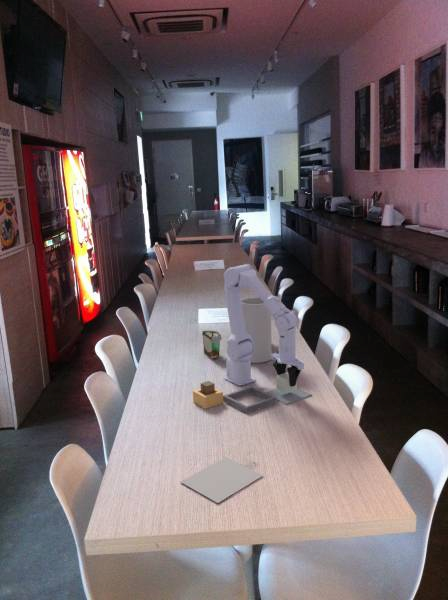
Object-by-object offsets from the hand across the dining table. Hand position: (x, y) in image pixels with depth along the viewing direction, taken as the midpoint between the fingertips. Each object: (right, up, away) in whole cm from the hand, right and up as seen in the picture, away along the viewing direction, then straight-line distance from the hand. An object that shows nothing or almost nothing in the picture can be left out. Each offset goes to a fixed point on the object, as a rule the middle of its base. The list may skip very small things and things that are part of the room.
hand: (287, 383), depth 197 cm
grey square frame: (-13, -6, -4) cm, 15 cm away
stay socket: (-28, -6, -3) cm, 28 cm away
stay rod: (-28, -6, -3) cm, 29 cm away
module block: (0, -2, 0) cm, 2 cm away
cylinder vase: (-9, +4, +39) cm, 40 cm away
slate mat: (0, -4, +1) cm, 4 cm away
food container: (-26, +5, +44) cm, 51 cm away
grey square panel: (-23, -17, -45) cm, 53 cm away
